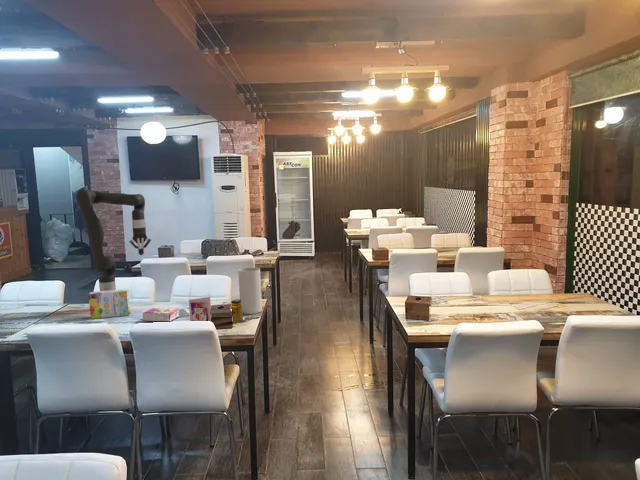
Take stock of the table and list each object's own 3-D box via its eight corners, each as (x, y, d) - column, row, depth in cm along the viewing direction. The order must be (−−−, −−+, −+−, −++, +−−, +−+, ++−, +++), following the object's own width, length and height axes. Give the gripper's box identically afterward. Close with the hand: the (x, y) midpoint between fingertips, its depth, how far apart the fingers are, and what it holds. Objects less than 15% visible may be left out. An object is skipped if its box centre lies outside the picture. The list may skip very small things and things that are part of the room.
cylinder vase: (240, 315, 287) (238, 272, 284) (240, 309, 299) (238, 268, 296) (262, 313, 289) (260, 270, 286) (261, 308, 301) (259, 267, 298)
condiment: (228, 322, 273) (227, 300, 272) (240, 318, 280) (239, 297, 278) (237, 324, 269) (236, 302, 267) (249, 320, 275) (248, 299, 274)
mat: (154, 321, 280) (154, 320, 280) (149, 314, 295) (149, 314, 295) (190, 315, 289) (190, 315, 289) (183, 309, 304) (183, 308, 304)
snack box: (130, 313, 300) (128, 288, 298) (128, 316, 294) (126, 290, 293) (93, 316, 296) (90, 291, 295) (90, 319, 291) (87, 293, 289)
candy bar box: (152, 307, 290) (179, 308, 287) (153, 316, 291) (179, 316, 287) (142, 312, 279) (169, 313, 276) (142, 321, 280) (170, 322, 277)
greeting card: (189, 327, 265) (188, 300, 264) (195, 323, 273) (193, 296, 271) (210, 328, 264) (208, 300, 262) (215, 323, 271) (213, 296, 269)
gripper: (149, 225, 314) (151, 253, 316) (126, 227, 308) (129, 255, 310) (151, 226, 307) (153, 254, 309) (128, 228, 301) (130, 256, 303)
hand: (141, 254), depth 310 cm, fingers closed
